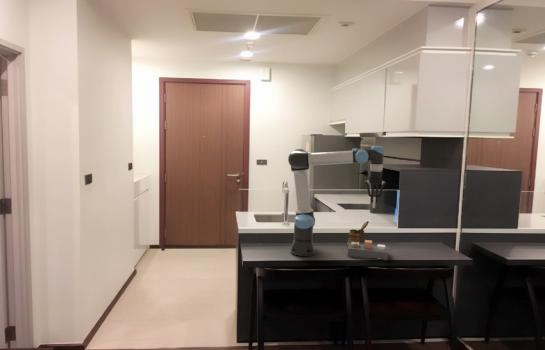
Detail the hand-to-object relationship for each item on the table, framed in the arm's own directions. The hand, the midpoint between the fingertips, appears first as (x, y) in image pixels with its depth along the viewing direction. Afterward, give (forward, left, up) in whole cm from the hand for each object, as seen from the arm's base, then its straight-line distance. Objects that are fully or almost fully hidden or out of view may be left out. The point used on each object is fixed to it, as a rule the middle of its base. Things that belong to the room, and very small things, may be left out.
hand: (373, 207), depth 256 cm
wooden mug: (-9, +8, -30) cm, 32 cm away
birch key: (-10, -7, -27) cm, 30 cm away
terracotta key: (-2, -7, -25) cm, 26 cm away
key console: (-2, -7, -29) cm, 30 cm away
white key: (+6, -7, -27) cm, 29 cm away
